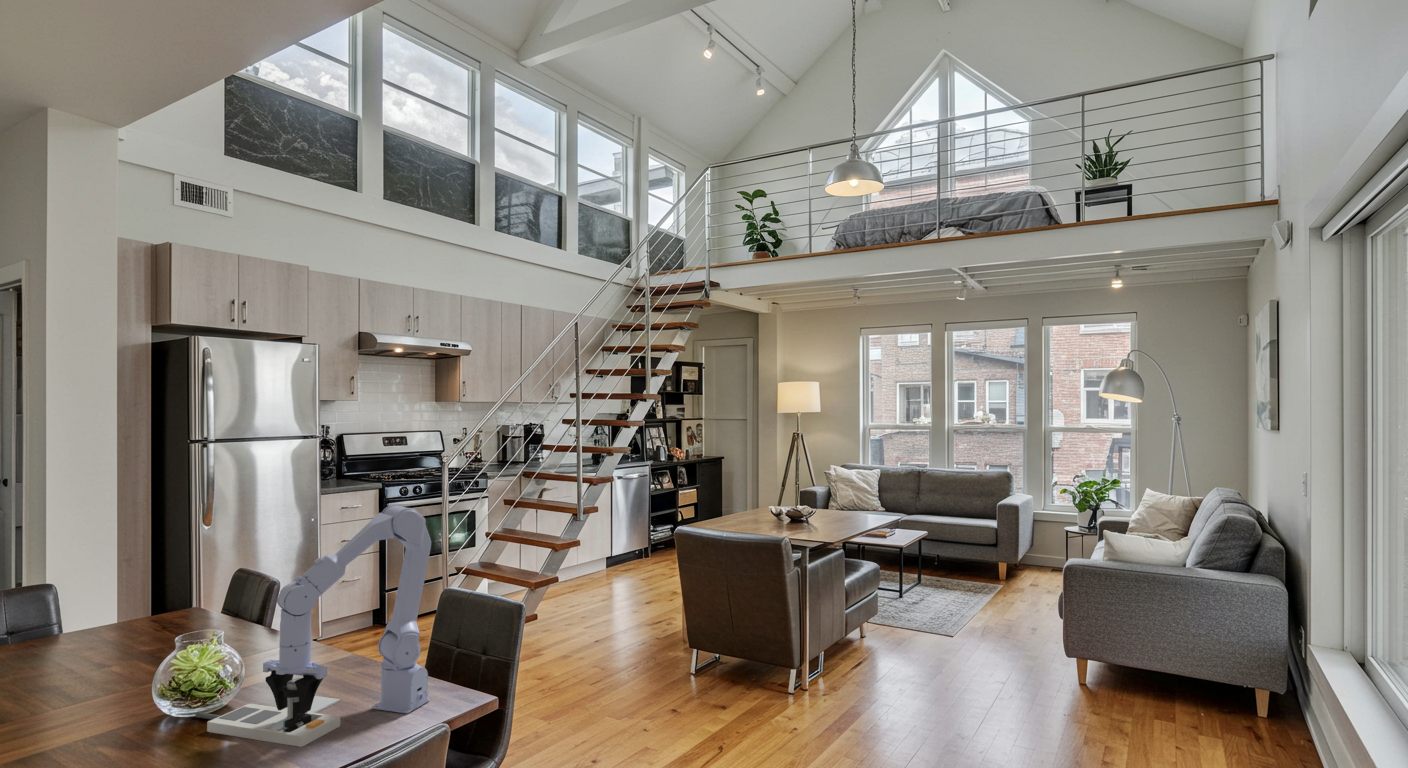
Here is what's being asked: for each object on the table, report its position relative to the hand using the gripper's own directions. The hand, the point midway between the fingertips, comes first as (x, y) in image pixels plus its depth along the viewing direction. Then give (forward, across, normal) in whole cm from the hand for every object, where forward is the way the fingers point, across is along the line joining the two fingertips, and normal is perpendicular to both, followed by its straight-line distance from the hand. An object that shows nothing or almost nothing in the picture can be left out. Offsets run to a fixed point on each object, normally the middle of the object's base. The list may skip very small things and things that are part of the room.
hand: (294, 710), depth 153 cm
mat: (+4, -8, +11) cm, 14 cm away
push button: (+5, 0, 0) cm, 5 cm away
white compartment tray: (+4, -10, 0) cm, 10 cm away
